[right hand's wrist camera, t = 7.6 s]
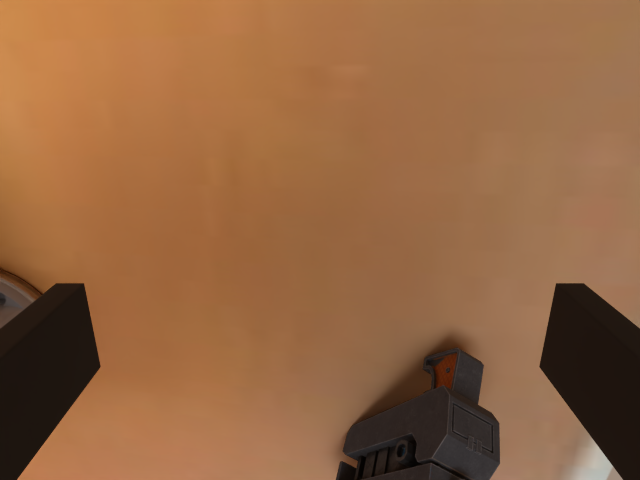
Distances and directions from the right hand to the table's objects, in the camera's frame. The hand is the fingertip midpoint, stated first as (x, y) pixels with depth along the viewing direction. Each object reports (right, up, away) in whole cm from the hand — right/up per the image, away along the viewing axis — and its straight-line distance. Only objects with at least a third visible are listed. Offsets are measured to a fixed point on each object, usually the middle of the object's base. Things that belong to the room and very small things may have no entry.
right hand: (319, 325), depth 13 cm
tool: (+8, -15, +35) cm, 39 cm away
